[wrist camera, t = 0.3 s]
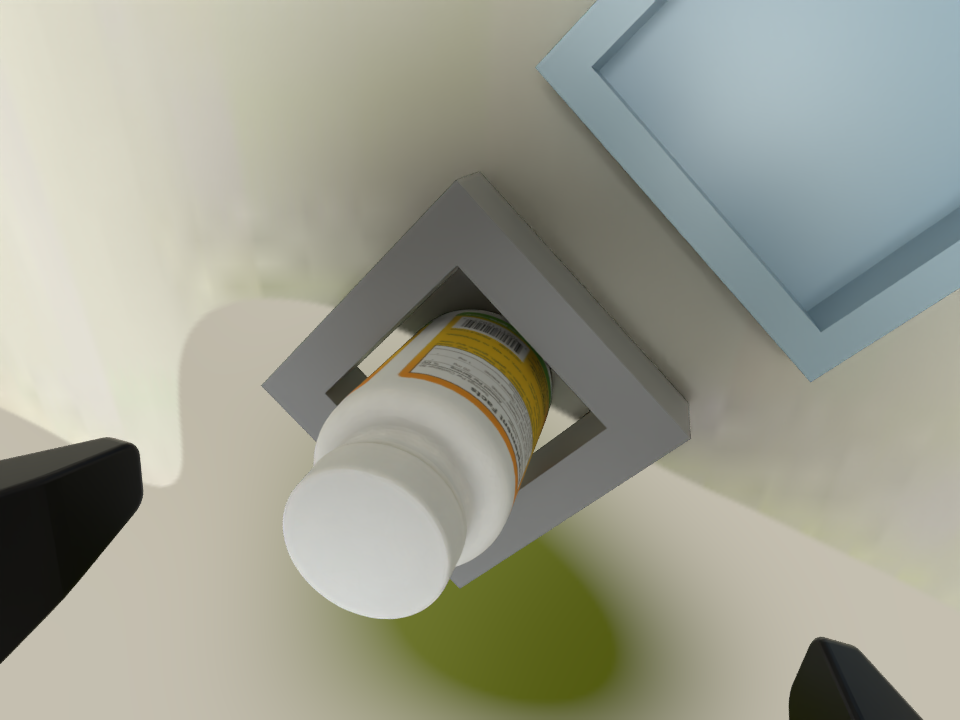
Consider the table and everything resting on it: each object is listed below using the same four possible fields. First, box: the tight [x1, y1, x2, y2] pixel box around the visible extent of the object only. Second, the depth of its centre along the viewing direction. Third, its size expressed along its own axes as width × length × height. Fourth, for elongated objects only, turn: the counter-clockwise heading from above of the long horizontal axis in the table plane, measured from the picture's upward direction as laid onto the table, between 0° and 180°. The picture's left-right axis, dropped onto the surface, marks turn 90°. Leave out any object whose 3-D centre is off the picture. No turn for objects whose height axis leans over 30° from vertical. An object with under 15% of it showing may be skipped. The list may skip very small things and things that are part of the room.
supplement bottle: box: [283, 309, 552, 619], centre depth 19 cm, size 5×5×10 cm
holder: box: [261, 172, 691, 588], centre depth 22 cm, size 10×10×2 cm
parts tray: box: [535, 0, 960, 382], centre depth 16 cm, size 11×11×2 cm
